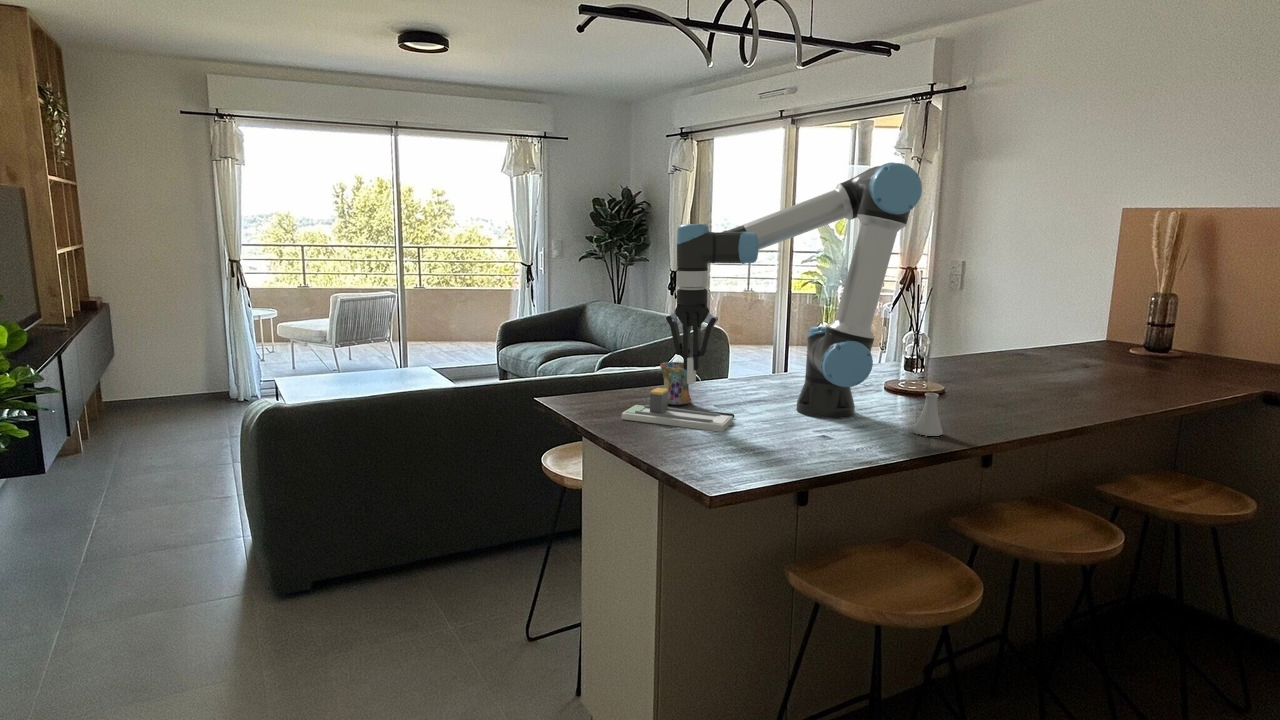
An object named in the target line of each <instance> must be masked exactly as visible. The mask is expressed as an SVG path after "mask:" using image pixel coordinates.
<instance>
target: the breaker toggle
mask: <svg viewBox="0 0 1280 720" xmlns="http://www.w3.org/2000/svg"><path fill="white" fill-rule="evenodd" d="M649 398H650V399H649V406H650V412H652V413H660V414H663V413H664V412H666V411H667V410H668V407H669V404H668V389H666V388H664V387H656V388H654V389H652V390H650V397H649Z"/></svg>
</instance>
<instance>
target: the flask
mask: <svg viewBox="0 0 1280 720" xmlns="http://www.w3.org/2000/svg"><path fill="white" fill-rule="evenodd" d="M924 396H925V400H924V405H923V409H922V411H921V413H920V415H919V416H918V419H917V421H916V423H915V425H914V426H913V428H912V432H913V431H914V433H918V434H921V435H926V436H925V437H927V435H928V436H939V435H942V434H943V435H944V432H943V428H942V424H941V420H940V416H939V411H938V398H939V397H940V395H939V393H935V392H926V393H924ZM914 433H913V434H914ZM918 434H917V435H918ZM921 435H920V436H921Z"/></svg>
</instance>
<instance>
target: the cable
mask: <svg viewBox="0 0 1280 720" xmlns="http://www.w3.org/2000/svg"><path fill="white" fill-rule="evenodd" d="M668 408H671V407H669V406H668ZM674 408H675V409H681V407H680V408H679V407H674ZM682 409H683V410H692V411H700V412H709V413H717V414H720V415H727V416H733V419H734V418H735V414H734V413H727V412H717V411H709V410H697V409H689V408H687V409H686V408H682Z"/></svg>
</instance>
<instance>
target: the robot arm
mask: <svg viewBox="0 0 1280 720" xmlns="http://www.w3.org/2000/svg"><path fill="white" fill-rule="evenodd" d="M922 192H923V185H922V180H921V178H920V176H919V174H918V173H917V171H916V170H915V169H914V168H913V167H912V166H910V165H907V164H906V163H903V162H902V163H899V162H887V163H884V164H882V165H877V166H873V167H871V168H869V169H867V170H865V171H863V172H861V173H860V174H858V175H856V176H853V177H851V178H850V179H848V180H846V181H842V182H840V183H838V184H837V185H836V187H835V189H833V190H831V191H828V192H826V193H822V194H821V195H817V196H815V197H813V198H809V199H806V200H804V201H801V202H799V203H796V204H794V205H791V206H789V207H786V208H783V209H780V210H778V211H776V212H775V211H774V212H773V213H770V214H768V215H764V216H763V217H760V218H757V219H754V220H752V221H749V222H747V223H744V224H742V225H740V226H736V227H733V228H730V229H728V230H723V231H721V232H718V231H716V232H713V231H710V230H709V226H708V224H705V223H682V224H680V225H678V227H677V231H676V233H677V234H676V287H678V289H677V290H676V306H675V309H674V312H673V313H671V314H670V315H668V316H666V317H665V320H666V322H667V324H668V325H669V327H670V332H671V336H672V340H673V345H674V350H675V353H676V355H680V356H682V357H683V359H682V360H683V361H682V363H683V368H684V370H687V384H689V385H695V383H697V371H699V370H700V367H701V366H700V365H701V357H703V356H705V355H706V354H708V352H709V347H710V343H711V339H712V335H713V331H714V327H715V325H716V324H717V322H718V321H719V318H718V317H717V316H715V315H713V314H711V313H710V309H709V307H708V293H709V292H708V289H707V287H708V284H709V283H708V281H709V280H708V279H709V278H708V277H709V275H708V272H709V271H708V265H709V264H742V265H745V264H754V263H756V262H757V260H758V257H759V251H760V250H762V249H765V248H767V247H770V246H773V245H775V244H779V243H781V242H784V241H787V240H790V239H791V238H795V237H797V236H801V235H802V234H804V233H807V232H811V231H813V230H815V229H818V228H822V227H824V226H826V225H830V224H832V223H835V222H837V221H840V220H843V219H847V220H848V221H849V220H854V219H857V218H858V220H859V222H860V226H859V232H858V235H857V239H856V243H855V246H854V250H853V254H852V257H851V261H850V265H849V268H848V272H847V276H846V280H845V283H844V287H843V290H842V294H841V297H840V301H839V306H838V309H837V313H836V317H835V319H834V321H832V322H831V323H829V324H827V325H826V326H811V327H810V328H809V330H808V335H807V337H806V338H807V339H806V340H807V349H806V363H805V377H804V384H803V387H802V389H801V390H800V394H799V396H798V398H797V400H796V411H797V412H798V413H801V414H802V415H806V416H810V417H815V418H823V419H846V418H851V417H853V416H855V411H856V410H855V407H856V405H855V402H854V397H853V393H852V389H851V388H852V387H856V386H858V385H860V384H861V383H863V382H864V381H865V380H867V378H868V377H869V376H870V374H871V372H872V370H873V365H874V363H873V362H874V361H873V355H872V350H873V349H872V348H873V345H874V342H875V338H876V337H875V335H874V333H873V332H872V329H871V328H872V325H873V321H874V317H875V313H876V310H877V306H878V303H879V299H880V296H881V292H882V289H883V286H884V281H885V278H886V274H887V270H888V268H889V263H890V260H891V255H892V252H893V250H894V249H893V248H894V245H895V242H896V238H897V235H898V232H899V231H901V230H902V229H904V228H905V227H906V226H907V224H908V220H909V217H910V213H911V210H913V209H914V208H915V207H916V205H917V204H918V203H919V201H920V199H921V197H922ZM678 320H679V322H680V323H681V324H682V337H681V333H680V330H679V326H678V323H677V321H678ZM705 320H706V324H707V325H706V328H705V331H704V336H703V341H702V344H701V339H702V338H701V332H702V331H701V329H702V324H703V323H704V322H705ZM691 329H692V330H691ZM691 331H693V332H692V352H691ZM681 338H682V339H681Z"/></svg>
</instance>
